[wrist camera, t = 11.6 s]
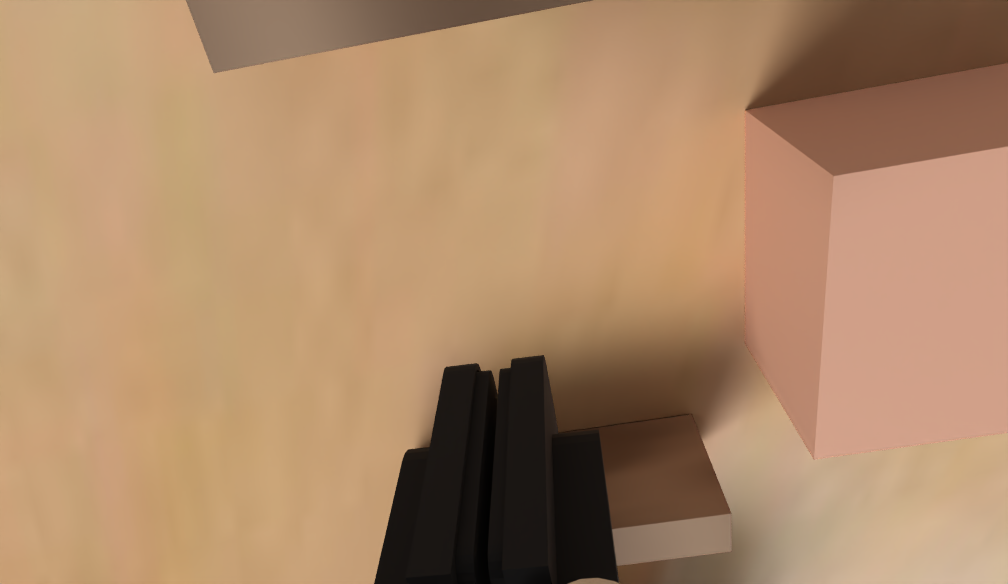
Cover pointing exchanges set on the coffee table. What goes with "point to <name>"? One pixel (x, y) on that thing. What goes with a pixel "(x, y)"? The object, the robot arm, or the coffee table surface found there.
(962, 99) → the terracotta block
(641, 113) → the coffee table surface
